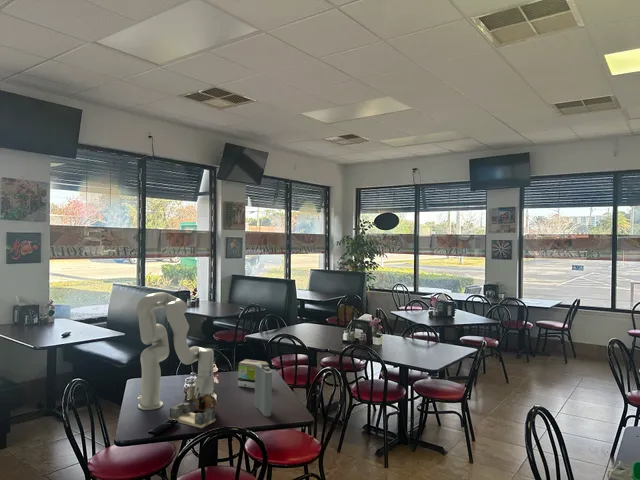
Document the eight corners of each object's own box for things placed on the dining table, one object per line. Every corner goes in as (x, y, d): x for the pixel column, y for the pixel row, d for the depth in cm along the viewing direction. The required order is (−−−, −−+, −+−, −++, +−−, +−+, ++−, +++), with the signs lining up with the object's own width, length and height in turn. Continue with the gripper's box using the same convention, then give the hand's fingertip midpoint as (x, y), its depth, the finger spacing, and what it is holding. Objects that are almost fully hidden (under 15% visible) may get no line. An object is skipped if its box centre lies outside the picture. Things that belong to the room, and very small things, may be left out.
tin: (190, 408, 248) (190, 392, 247) (194, 406, 250) (194, 391, 250) (213, 414, 241) (213, 398, 241) (217, 412, 244) (217, 396, 244)
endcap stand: (201, 428, 224) (201, 416, 224) (168, 419, 234) (168, 408, 234) (215, 420, 234) (215, 409, 234) (183, 412, 243) (183, 401, 243)
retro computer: (237, 386, 289) (238, 362, 289) (244, 382, 298) (245, 358, 298) (260, 389, 284) (260, 365, 284) (266, 384, 294) (267, 361, 294)
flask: (273, 415, 243) (274, 366, 243) (265, 416, 241) (266, 367, 241) (261, 404, 258) (263, 358, 258) (253, 405, 256) (254, 359, 256)
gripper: (209, 368, 254) (208, 402, 254) (189, 375, 240) (187, 411, 240) (221, 370, 251) (219, 404, 251) (200, 377, 237) (198, 414, 237)
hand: (203, 407), depth 246 cm, fingers closed on tin, 2 cm apart
